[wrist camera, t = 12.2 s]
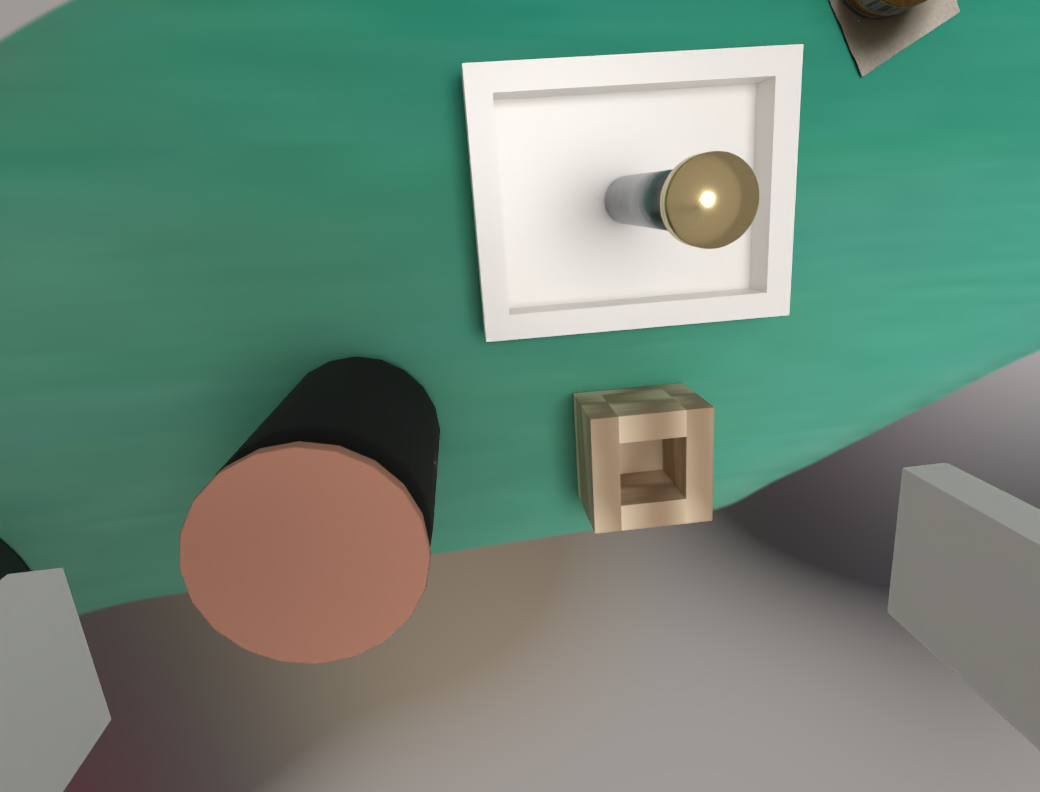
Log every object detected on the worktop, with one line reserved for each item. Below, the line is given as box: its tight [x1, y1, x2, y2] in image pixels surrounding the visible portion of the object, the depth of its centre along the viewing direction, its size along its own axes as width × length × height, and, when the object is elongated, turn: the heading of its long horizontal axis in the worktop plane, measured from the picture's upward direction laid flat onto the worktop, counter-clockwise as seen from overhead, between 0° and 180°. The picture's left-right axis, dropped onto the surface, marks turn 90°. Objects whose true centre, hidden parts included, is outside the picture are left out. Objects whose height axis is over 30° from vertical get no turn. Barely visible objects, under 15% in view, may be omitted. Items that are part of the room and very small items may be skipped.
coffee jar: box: [180, 357, 440, 664], centre depth 36 cm, size 11×11×18 cm
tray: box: [462, 44, 803, 342], centre depth 40 cm, size 20×16×4 cm
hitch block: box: [573, 383, 714, 533], centre depth 44 cm, size 8×8×6 cm
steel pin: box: [604, 151, 759, 249], centre depth 34 cm, size 4×4×15 cm
